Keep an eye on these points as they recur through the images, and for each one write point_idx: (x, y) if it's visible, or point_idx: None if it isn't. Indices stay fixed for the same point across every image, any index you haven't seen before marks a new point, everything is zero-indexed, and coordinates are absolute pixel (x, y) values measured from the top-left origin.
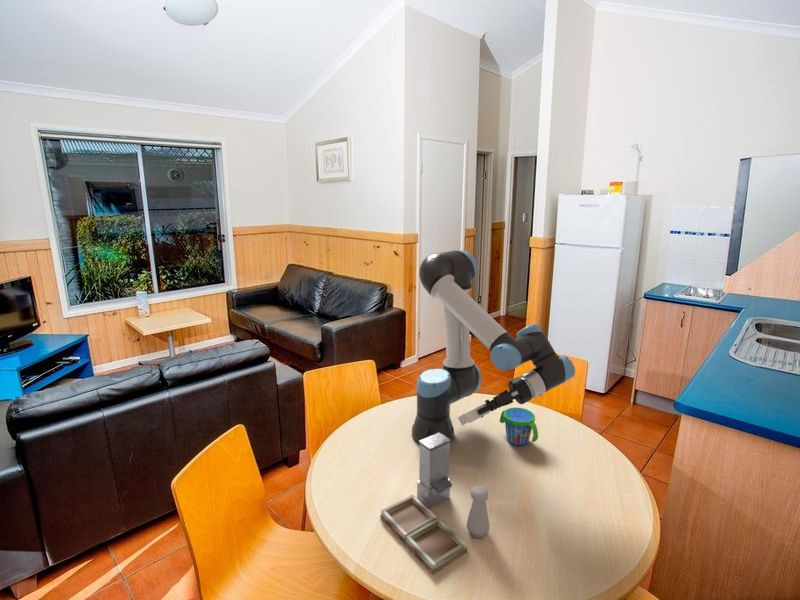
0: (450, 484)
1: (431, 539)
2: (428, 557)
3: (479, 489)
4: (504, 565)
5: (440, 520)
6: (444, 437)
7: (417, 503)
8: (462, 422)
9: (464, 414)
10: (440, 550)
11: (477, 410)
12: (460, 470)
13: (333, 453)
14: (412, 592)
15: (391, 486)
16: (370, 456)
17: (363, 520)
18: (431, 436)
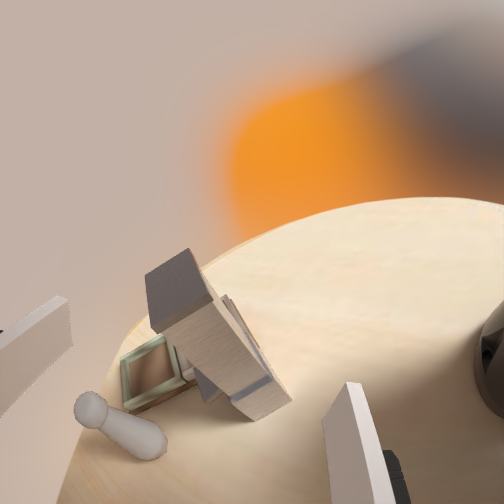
0: (205, 397)
1: (161, 367)
2: (129, 354)
3: (82, 404)
4: (102, 452)
5: (174, 380)
6: (171, 308)
7: None
8: (329, 418)
9: (354, 419)
10: (141, 376)
11: (1, 331)
12: None
13: (397, 209)
14: (123, 342)
15: (309, 307)
16: (403, 254)
17: (234, 283)
18: (194, 272)
